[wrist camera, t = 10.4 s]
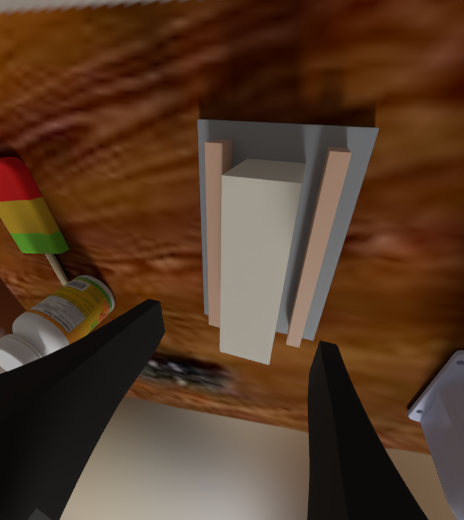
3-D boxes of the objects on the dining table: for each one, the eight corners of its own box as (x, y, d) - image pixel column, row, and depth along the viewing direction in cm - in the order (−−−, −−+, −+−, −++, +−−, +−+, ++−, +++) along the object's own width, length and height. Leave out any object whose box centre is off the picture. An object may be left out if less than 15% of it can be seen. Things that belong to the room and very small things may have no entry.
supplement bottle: (102, 316, 30) (24, 389, 22) (69, 284, 29) (-27, 349, 21) (124, 302, 27) (45, 379, 19) (89, 266, 26) (-12, 333, 18)
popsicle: (26, 153, 21) (3, 157, 20) (95, 290, 29) (82, 300, 27) (-13, 160, 23) (-37, 163, 22) (61, 287, 30) (47, 296, 29)
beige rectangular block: (278, 314, 20) (269, 364, 16) (238, 305, 21) (219, 351, 17) (306, 163, 14) (302, 183, 10) (247, 158, 15) (221, 175, 11)
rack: (313, 332, 21) (312, 360, 19) (208, 307, 24) (196, 329, 21) (375, 127, 13) (388, 130, 11) (203, 119, 15) (182, 120, 13)
